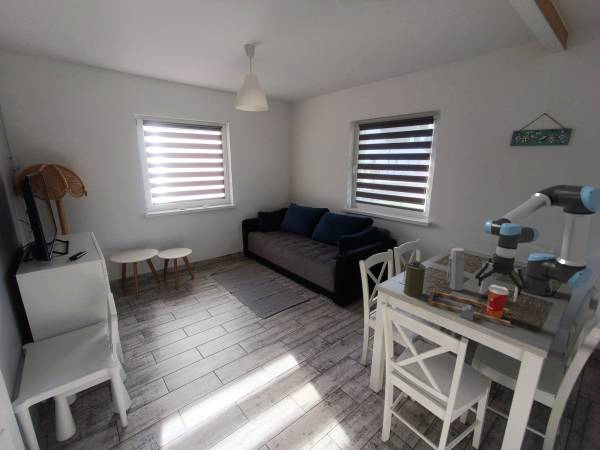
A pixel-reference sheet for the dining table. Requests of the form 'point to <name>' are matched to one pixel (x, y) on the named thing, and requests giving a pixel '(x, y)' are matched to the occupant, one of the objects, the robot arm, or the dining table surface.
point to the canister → (414, 278)
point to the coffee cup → (496, 301)
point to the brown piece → (468, 301)
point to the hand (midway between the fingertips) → (496, 296)
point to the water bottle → (457, 269)
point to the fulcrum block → (467, 312)
